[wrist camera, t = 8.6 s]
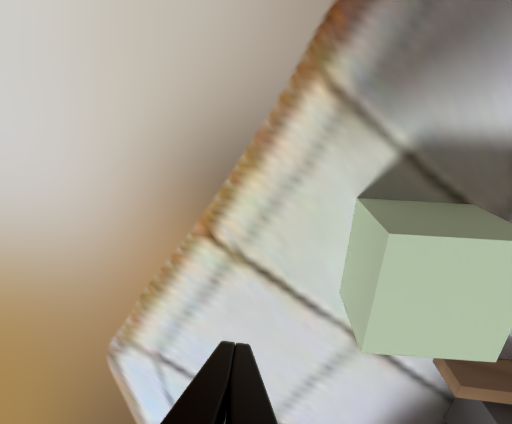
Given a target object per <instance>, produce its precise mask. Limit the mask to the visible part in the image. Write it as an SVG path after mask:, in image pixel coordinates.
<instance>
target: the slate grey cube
mask: <svg viewBox="0 0 512 424" xmlns="http://www.w3.org/2000/svg"><path fill="white" fill-rule="evenodd" d="M444 419H445V421H446V423H447V424H512V404H504V403H497V402H489V401H481V400H473V399H465V398H458V397H455V398H454V400H453V402H452V404H451V406H450V408H449V410H448V411H447V413H446V415H445V417H444Z"/></svg>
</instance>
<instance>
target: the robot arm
mask: <svg viewBox="0 0 512 424" xmlns="http://www.w3.org/2000/svg"><path fill="white" fill-rule="evenodd" d="M225 418H226V420H225ZM160 424H278V423H277V420H276V417H275V414H274V411H273V409H272V406H271V403H270V400H269V397H268V395H267V392H266V389H265V386H264V383H263V380H262V378H261V375H260V372H259V369H258V366H257V363H256V361H255V358H254V355H253V352H252V349H251V347H250V345H249V344H244V343H236V345H235V343H234V342H229V341H221V342H220V344H219V345H218V346H217V348H216V349H215V350H214V352H213V353H212V354H211V356H210V357H209V358H208V360H207V361H206V362H205V364H204V365H203V367H202V368H201V369H200V371H199V372H198V373H197V375H196V376H195V377H194V379H193V380H192V381H191V383H190V384H189V386H188V387H187V388H186V390H185V391H184V392H183V394H182V395H181V396H180V398H179V399H178V400H177V402H176V403H175V404H174V406H173V407H172V409H171V410H170V411H169V413H168V414H167V415H166V417H165V418H164V419H163V421H162V422H161V423H160Z"/></svg>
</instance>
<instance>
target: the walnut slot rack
mask: <svg viewBox="0 0 512 424" xmlns="http://www.w3.org/2000/svg"><path fill="white" fill-rule="evenodd" d="M433 363H434V364H435V366H436V367H437V369H438V371H439V372H440V374H441V375H442V377H443V378H444V380H445V382H446V383H447V385H448V386H449V388H450V390H451V391H452V393H453V394H454V396H455V397H458V398H465V399H473V400H481V401H489V402H497V403H504V404H512V361H510V360H503V359H497V361H496V362H483V361H469V360H455V359H441V358H434V360H433Z"/></svg>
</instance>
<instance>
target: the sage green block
mask: <svg viewBox="0 0 512 424" xmlns="http://www.w3.org/2000/svg"><path fill="white" fill-rule="evenodd" d="M340 296H341V299H342V301H343V304H344V307H345V310H346V312H347V315H348V318H349V321H350V323H351V326H352V329H353V332H354V334H355V337H356V340H357V343H358V345H359V348H360V351H361V353H371V354H385V355H399V356H413V357H427V358H441V359H455V360H469V361H483V362H496V361H497V359H498V357H499V355H500V353H501V351H502V348H503V346H504V344H505V342H506V340H507V338H508V336H509V333H510V331H511V329H512V223H510V222H508V221H506V220H504V219H502V218H500V217H498V216H496V215H494V214H492V213H490V212H488V211H486V210H484V209H482V208H480V207H478V206H476V205H474V204H457V203H439V202H421V201H403V200H385V199H367V198H357V199H356V204H355V210H354V215H353V221H352V226H351V232H350V238H349V243H348V249H347V254H346V260H345V265H344V271H343V277H342V282H341V288H340Z"/></svg>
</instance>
